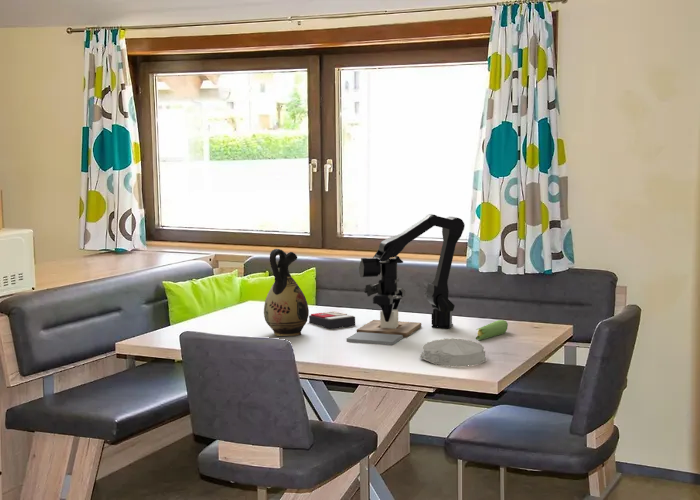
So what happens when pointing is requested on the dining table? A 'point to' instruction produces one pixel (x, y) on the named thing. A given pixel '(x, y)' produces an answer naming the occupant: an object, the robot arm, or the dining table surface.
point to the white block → (389, 320)
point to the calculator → (332, 320)
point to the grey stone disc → (454, 352)
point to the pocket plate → (402, 328)
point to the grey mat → (374, 338)
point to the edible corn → (492, 329)
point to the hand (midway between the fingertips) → (389, 320)
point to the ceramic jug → (285, 298)
